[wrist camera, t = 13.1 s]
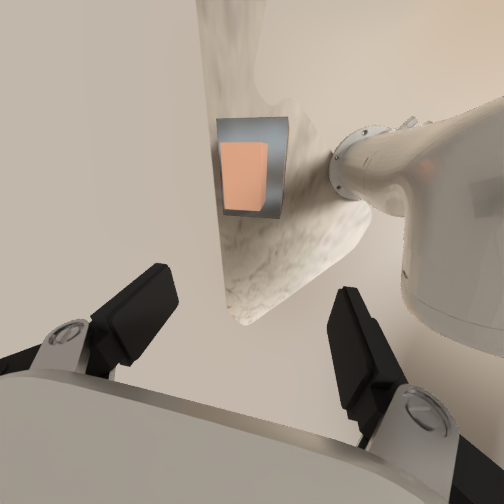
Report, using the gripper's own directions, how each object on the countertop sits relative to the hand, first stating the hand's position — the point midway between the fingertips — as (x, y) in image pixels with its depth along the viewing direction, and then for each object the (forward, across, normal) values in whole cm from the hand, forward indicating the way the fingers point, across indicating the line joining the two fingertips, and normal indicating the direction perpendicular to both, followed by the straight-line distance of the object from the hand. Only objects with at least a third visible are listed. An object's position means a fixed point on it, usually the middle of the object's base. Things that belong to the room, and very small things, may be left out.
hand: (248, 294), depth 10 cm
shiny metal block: (+34, +4, -4) cm, 35 cm away
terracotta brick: (+22, +4, -4) cm, 23 cm away
